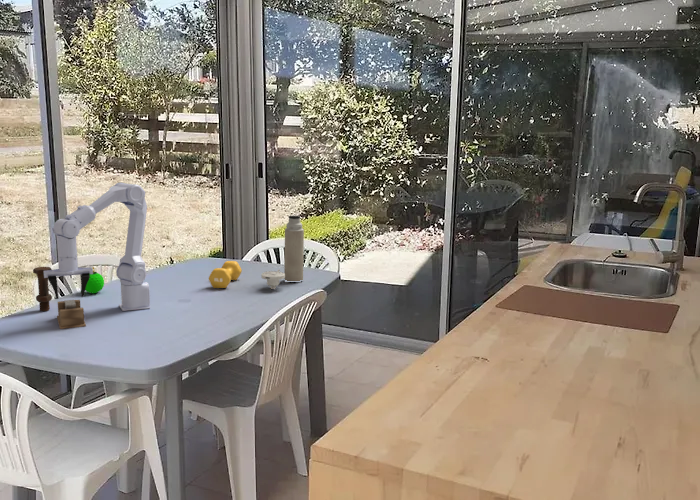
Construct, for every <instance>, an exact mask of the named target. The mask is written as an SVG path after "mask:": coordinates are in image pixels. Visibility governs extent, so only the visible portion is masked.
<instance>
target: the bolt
mask: <svg viewBox="0 0 700 500" xmlns="http://www.w3.org/2000/svg"><path fill="white" fill-rule="evenodd" d="M47 270H53V269H52V267H50V266H38V267H34V268H33V269H32V274H35V275H36V277H37V287H38V295H36V296H35V300H36V302H37V303H38V304H39V311H41V312H49V310H50V309H51V308H50V302H51V301H52V300H53V296H52V295H51V294H50V290H49V280H48V278H44V271H47Z"/></svg>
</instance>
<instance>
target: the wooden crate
mask: <svg viewBox="0 0 700 500" xmlns="http://www.w3.org/2000/svg"><path fill="white" fill-rule="evenodd" d="M73 300H74V301H75V303H76V308H73V309H65V304H64V300H61V301H57V316H56V317H57V318H56V319H57V322H58V327H59V329H60V330H63V329H73V328H82V327H87V325H86V324H87V323H86V320H85V316H84V315H85V312H84V311H85V310H84V307H81V300H80V299H73Z"/></svg>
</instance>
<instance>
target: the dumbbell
mask: <svg viewBox="0 0 700 500" xmlns="http://www.w3.org/2000/svg"><path fill="white" fill-rule="evenodd" d="M242 270H243V269H242V268H241V266H240V264H239V262H238V261H236V260H227V261H225V262H224V263H223V264H222V266H221V267H217V268H214V269H213V270H211V272H210V274H209V276H208V281H209V283H210V285H211V286H212V288H214V289H215V288H225V289H226V288H227V287H228V286H229V285H230V283H231V280H235V281H237V280H238V279H239V277H240V276H241V275H242Z"/></svg>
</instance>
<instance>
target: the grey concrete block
mask: <svg viewBox="0 0 700 500" xmlns="http://www.w3.org/2000/svg"><path fill="white" fill-rule="evenodd" d="M74 300H75V299H67V300H63V301H64V304H65V309H73V308H76V303H75V301H74Z"/></svg>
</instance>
